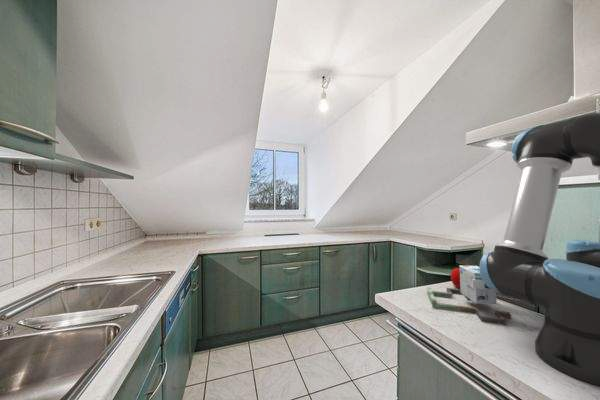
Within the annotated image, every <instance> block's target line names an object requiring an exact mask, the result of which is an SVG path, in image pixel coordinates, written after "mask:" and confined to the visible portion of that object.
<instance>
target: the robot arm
mask: <svg viewBox="0 0 600 400" xmlns="http://www.w3.org/2000/svg"><path fill="white" fill-rule="evenodd" d="M511 154H512V155H511V158H512V159H513V161H514V162H515V163H516V166H517V167H518V168H519V169H520V170H521V173H520V177H519V180H518V181H519V182H518V184H517V188H516V192H515V196H514V199H513V203H512V207H511V211H510V213H509V218H508V221H507V226H506V227H505V228H506V229H505V233H504V236H503V240H502V241H501V242H499V243H497V244H495V245H494V248H493V251H489V252H486V253H485V254H483V255H482V257H481V258H480V261H479V266H478V267H479V270H480V275H481V278H482V279H483V280H475V279H472V287H473V288H480V289H490V290H494V291H496V293H500V295H503V296H507V297H511V298H513V299H515V300H516V299H517V300H518V301H522V302H524V303H527V304H530V305H532V306H536V307H539V308H542V309H544V311H543V313H544V323H543V325H542V326H541V328H540V330H539V332H538V334H537V336H536V338H535V341H534V351H535V354H536V356H538V357H539V358H540V359H541V360H542V361H544V362H545V363H546V364H547V365H549V366H551V367H553V368H554V369H556V370H558V371H560V372H562V373H564V374H566V375H568V376H571V377H572V378H575V379H578V380H580V381H582V382H586V383H589V384H592V385H595V386H599V387H600V241H597V240H596V241H595V240H589V239H569V240H568V241H567V242H566V249H565V250H566V251H565V255H566V256H565V257H566V258H565V259H561V258H549V257H548V256H547V255H546V254H545V253H544V251H543V248H544V245H545V242H546V237H547V234H548V233H547V232H548V229H549V225H550V221H551V217H552V214H553V209H554V206H555V201H556V198H557V194H558V189H559V185H560V181H561V177H562V174H563V173H565V172H568V171H569V170H570V169H571V168H572V165H573V161H574V160H577V159H583V158H589V159H590V160H591V164H592V166H593V168H594V167H595V168H597V169H600V112H593V113H591V112H590V113H586V114H581V115H579V116H574V117H571V118H568V119H567V118H566V119H562V120H559V121H555V122H551V123H548V124H540V125H537V126H534V127H531V128H527V129H525V130H523V131H522V132H520V133H519V134H518V135H517V136H516V137H515V138H514V139H513V142H512V145H511Z"/></svg>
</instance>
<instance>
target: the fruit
mask: <svg viewBox="0 0 600 400" xmlns="http://www.w3.org/2000/svg"><path fill="white" fill-rule="evenodd" d="M450 281H451V282H452V284H453V285H454V287H456V288H457V289H461V288H460V267H457V268H456V267H455V268H453V269H452V271H451V273H450Z"/></svg>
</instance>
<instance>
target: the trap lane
mask: <svg viewBox="0 0 600 400" xmlns="http://www.w3.org/2000/svg"><path fill="white" fill-rule="evenodd" d="M426 290H427V298H428V299H429V302H430V304H431V308H434V309H435V308H436V309H442V310H448V311H456V312H464V313H470V314H476V316H477V317H478V319H479V320H480V321H481V322H483V323H491V324H495V325H496V324H497V325H505V326H506V323H507V319H512V313H511V312H509V311H502V310H494V311H493V314H494V316H491V315H484V314H482V312H480V310H479V309H478V308H477V307H472V306H467V305H466V306H465V305H458V304H450V303H443V302H437V299H436V298H435V296H436V297H442V296H443V297H444V298H450V297H452V298H453V294H457V293H461V288H451V287H446V291H439V290H432V288H431V287H427V288H426ZM451 292H452V293H451ZM460 295H463V294H462V293H461V294H460ZM463 296H464V297H465V299H466V298H467V299H469V298H468V297H466V296H465V295H463ZM443 297H442V298H443ZM467 299H466V300H467ZM469 301H471V300H470V299H469ZM504 317H505V318H506V319H505V318H504Z"/></svg>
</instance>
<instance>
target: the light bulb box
mask: <svg viewBox="0 0 600 400" xmlns="http://www.w3.org/2000/svg"><path fill="white" fill-rule="evenodd" d="M458 268H460V288H459V289H461V293H462V294H461V295H463V296H464V295H465V296H466V297H468V298H469V299H470V300H469V301H472V302H473V303H475V304H477V305H497V301H498V300H497V291H494V290H490V289H480V288H473V287H472V279H475V280H483V279H482V278H481V275H480V270H479V266H478V265H461V264H459V267H458ZM465 296H464V297H465ZM466 297H465V298H466Z"/></svg>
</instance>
